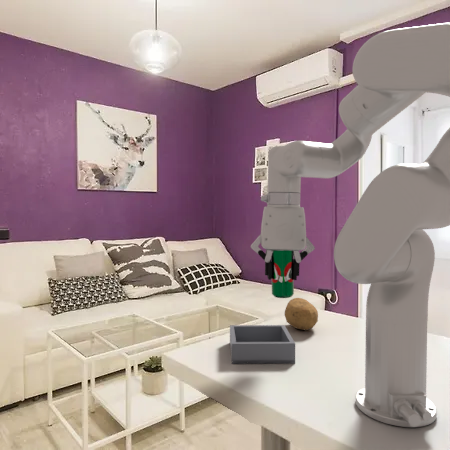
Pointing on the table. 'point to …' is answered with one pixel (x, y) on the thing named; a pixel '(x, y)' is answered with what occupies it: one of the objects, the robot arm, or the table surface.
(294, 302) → the potato
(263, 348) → the bin
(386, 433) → the table surface
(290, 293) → the soda can
